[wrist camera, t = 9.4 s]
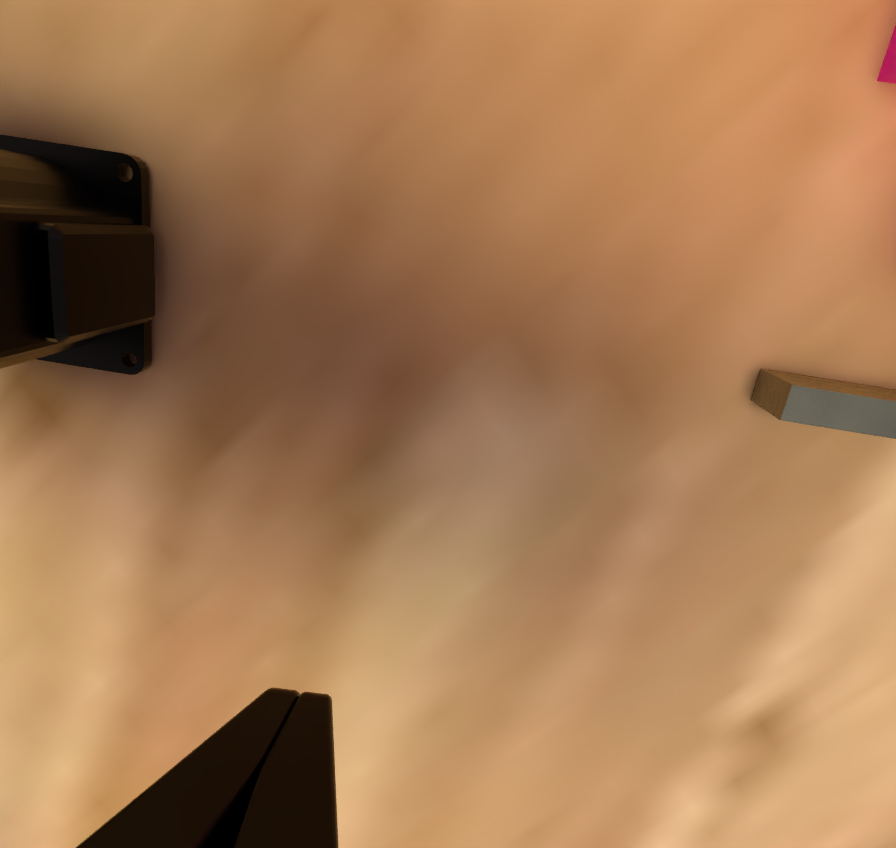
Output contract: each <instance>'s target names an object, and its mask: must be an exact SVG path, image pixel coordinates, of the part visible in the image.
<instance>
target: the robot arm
mask: <svg viewBox="0 0 896 848" xmlns="http://www.w3.org/2000/svg"><path fill="white" fill-rule="evenodd" d="M127 165H129V166H130V167H131V168H132V172H133V176H132V179H131V180H130V181H128V180H127V179H126V178H125V175H124V170H125V167H126V166H127ZM154 315H155V276H154V235H153V234H152V232H151V231H150V208H149V173H148V169H147V167H146V165H145V163H144V162H143V161H142V160H141V159H139V158H138V157H135V156H133V155H128V154H124V153H117V152H111V151H104V150H97V149H91V148H84V147H78V146H71V145H65V144H58V143H52V142H45V141H39V140H32V139H26V138H19V137H12V136H6V135H0V368H4V367H8V366H11V365H15V364H19V363H22V362H26V361H30V360H33V359H39V360H45V361H51V362H57V363H63V364H69V365H75V366H81V367H87V368H93V369H99V370H105V371H111V372H117V373H123V374H129V375H133V374H138V373H140V372H143V371H145V370H147V369H148V368H149V366H150V365H151V360H152V348H151V318H152V317H153V316H154ZM130 352H132V353H133V354H134V355H135V356H136V358H137V363H136V364H134V363H132V361H131V360H130V358H129V353H130ZM76 848H338V829H337V806H336V783H335V761H334V738H333V716H332V699H331V697H330V696H329V695H327V694H320V693H312V692H303V693H302V694H300V693H299V692H297V691H296V690H288V689H281V688H270V689H268V690H266V691H265V692H264V693H262V694H261V695H260V696H259V697H257V698H256V699H255V700H254V701H253V702H251V703H250V704H249V705H248V706H247V707H245V708H244V709H243V710H242V711H241V712H239V713H238V714H237V715H236V716H234V717H233V718H232V719H231V720H230V721H228V722H227V723H226V724H225V725H224V726H222V727H221V728H220V729H219V730H218V731H216V732H215V733H214V734H213V735H211V736H210V737H209V738H208V739H207V740H205V741H204V742H203V743H202V744H201V745H199V746H198V747H197V748H196V749H194V750H193V751H192V752H191V753H190V754H188V755H187V756H186V757H185V758H184V759H182V760H181V761H180V762H179V763H178V764H176V765H175V766H174V767H173V768H171V769H170V770H169V771H168V772H167V773H165V774H164V775H163V776H162V777H161V778H159V779H158V780H157V781H156V782H155V783H153V784H152V785H151V786H150V787H148V788H147V789H146V790H145V791H144V792H142V793H141V794H140V795H139V796H138V797H136V798H135V799H134V800H133V801H132V802H130V803H129V804H128V805H127V806H125V807H124V808H123V809H122V810H121V811H119V812H118V813H117V814H116V815H115V816H113V817H112V818H111V819H110V820H109V821H107V822H106V823H105V824H104V825H102V826H101V827H100V828H99V829H98V830H96V831H95V832H94V833H93V834H92V835H90V836H89V837H88V838H87V839H86V840H84V841H83V842H82V843H81V844H79V845H78V846H77V847H76Z"/></svg>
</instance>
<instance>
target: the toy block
mask: <svg viewBox="0 0 896 848" xmlns="http://www.w3.org/2000/svg"><path fill="white" fill-rule="evenodd" d="M877 81H882V82H889V83H896V25H895V28H894V31H893V34H892V37H891V40H890V43H889V46H888V49H887V52H886V55H885V58H884V61H883V64H882V67H881V70H880V73H879V76H878V79H877Z"/></svg>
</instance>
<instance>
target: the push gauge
mask: <svg viewBox="0 0 896 848" xmlns="http://www.w3.org/2000/svg"><path fill="white" fill-rule="evenodd" d="M751 401H753V402H754V403H756V404H757V405H759V406H760V407H762V408H763V409H765V410H766V411H768V412H769V413H771V414H772V415H773V416H775V417H776V418H778V419H779V420H783V421H789V422H795V423H801V424H808V425H814V426H820V427H826V428H832V429H838V430H844V431H851V432H857V433H863V434H869V435H875V436H881V437H888V438H894V439H896V390H892V389H886V388H880V387H873V386H867V385H861V384H855V383H848V382H842V381H836V380H830V379H823V378H817V377H811V376H804V375H798V374H792V373H786V372H779V371H773V370H767V369H761V371H760V374H759V377H758V380H757V383H756V386H755V389H754V392H753V395H752V398H751Z"/></svg>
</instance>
